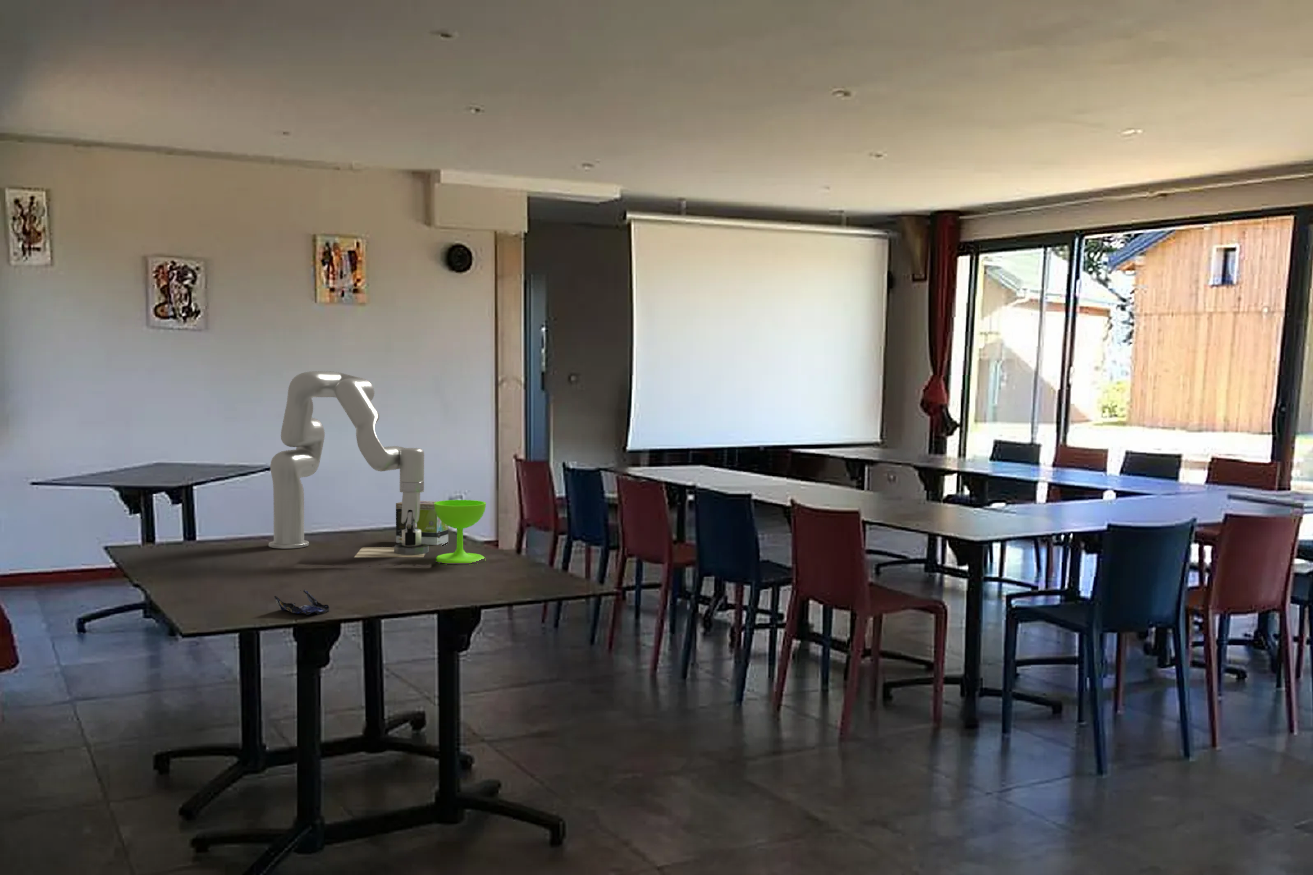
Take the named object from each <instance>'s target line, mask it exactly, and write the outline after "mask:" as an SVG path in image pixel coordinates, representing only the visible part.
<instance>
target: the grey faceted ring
mask: <svg viewBox="0 0 1313 875" xmlns="http://www.w3.org/2000/svg"><path fill="white" fill-rule="evenodd" d="M393 547H394V553H396V554H401V555H419V554H425V555H426V554H429V552H430V550H429V549H430V545H427V544H421V545H418V546H404V545H402V543H397V544H395V545H394V546H393Z"/></svg>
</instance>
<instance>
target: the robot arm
mask: <svg viewBox="0 0 1313 875" xmlns="http://www.w3.org/2000/svg"><path fill="white" fill-rule="evenodd" d="M287 388H288V389H287V398H286V405H285V409H284V414H283V415H284V416H283V420H282V425H281V429H280V430H281V431H280V440H281V442H282V443H283V445H285V446H286V447H290V448H295V449H288V450H283V451H278V452H277V453H276V454H275V455H274V456H273V457H272V458H271V460H270V464H269V465H270V468H269V469H270V474H271V479H272V488H273V489H272V490H273V541H269V543H268V547H269V548H273V549H299V548H300V549H301V548H304V547H308V546H309V545H310V542H309V540H305V492H304V487H303V483H302V480H301V478H307V477H310V476H313V475H314V474H315V473H316V472H317V470H318V468H319V466H320V461H321V459H322V458H321V457H322V452H323V447H324V442H325V441H324V440H325V434H326V433H325V428H324V425H323V424H322V422H321V421H320V420H319V419H318V418H315V417H313V413H314V402H313V399H314V398H336V399H337V401H338V402H339V404H340V406H341V407H342V409H343V411H345V413H346V416H347V417H348V418H349V420H350V421H351V423H352V425H353V426H354V428H355V437H356V438H355V439H356V444H357V447H358V449H359V451H360V453H361V455H362V457H363V458H364V460H365V461H366V463H367V464H368V465H369V467H371V468H372V469H373V470H374V471H377V472H387V471H395V470H399V493H402V496H401V497H402V500H401V502H402V519H401V523H402V524H404V522H405V521H406V533H405V545H415V544H416V533H415V529H417V522H418V521H419V515H420V501H421V493H424V492H425V451H424V449H422V448H419V447H403V446H400V445H399V446H398V445H391V446H390V445H389V446H383V444H382V443H381V442H380V440H379V438H378V436H377V434H376V428H375V427H376V424H377V423H378V422H379V420H380V413H379V412H378V410H377V409H376V407H375V406H374V404H373V403H372V400H373V399H374V396H375V388H374V386H373V384H372V383H371V382H370V381H369V380H367V379H366V378H363V377H359V376H354V375H350V374H346V373H342V372H339V371H328V370H327V371H325V370H324V371H323V370H321V371H320V370H318V371H317V370H313V371H312V370H311V371H305V372H301V373H298V374H297V375H296V376H294V377H293V378H292V379H291V381H290V383H289V385H288V387H287Z"/></svg>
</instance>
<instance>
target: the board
mask: <svg viewBox="0 0 1313 875" xmlns="http://www.w3.org/2000/svg"><path fill="white" fill-rule="evenodd" d="M425 555H426V553H425V554H419V555H401V554H396V553H394V546H392V547H387V546H386V547H385V546H384V547H383V546H381V547H379V546H378V547H377V546H375V547H372V546H371V547H369V546H368V547H367V546H366V547H361V548H360V549H359V551H358V552H357V553H356V554H355V555H354V558H424V557H425Z"/></svg>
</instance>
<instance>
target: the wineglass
mask: <svg viewBox="0 0 1313 875" xmlns="http://www.w3.org/2000/svg"><path fill="white" fill-rule="evenodd" d="M486 505H487V502H485V501H482V500H475V499H474V500H473V499H447V500H438V502H434V507H435V511H436V514H437V516H438V517H439V519H440V520H441V521H442V522H443V523H444V524H446V525H447V526H448V527H450V528H453V529H456V549H455V551H454V552H449V553H448V552H447V553H443V554H439V555H437V556H436V558H435V560H434V562H435V561H437V562H442V563H472V562H476V561H479V560H481V559H484V558H485V556H483V555H482V554H479V553H475V552H474V553H472V552H466V550H465V549H464V529H467V528H470V527H472V526H474V525H475V524H477V523H478V522H479V521H480V520H481V518H482V517H483V516H484V513H485V511H486V507H487V506H486Z"/></svg>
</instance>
